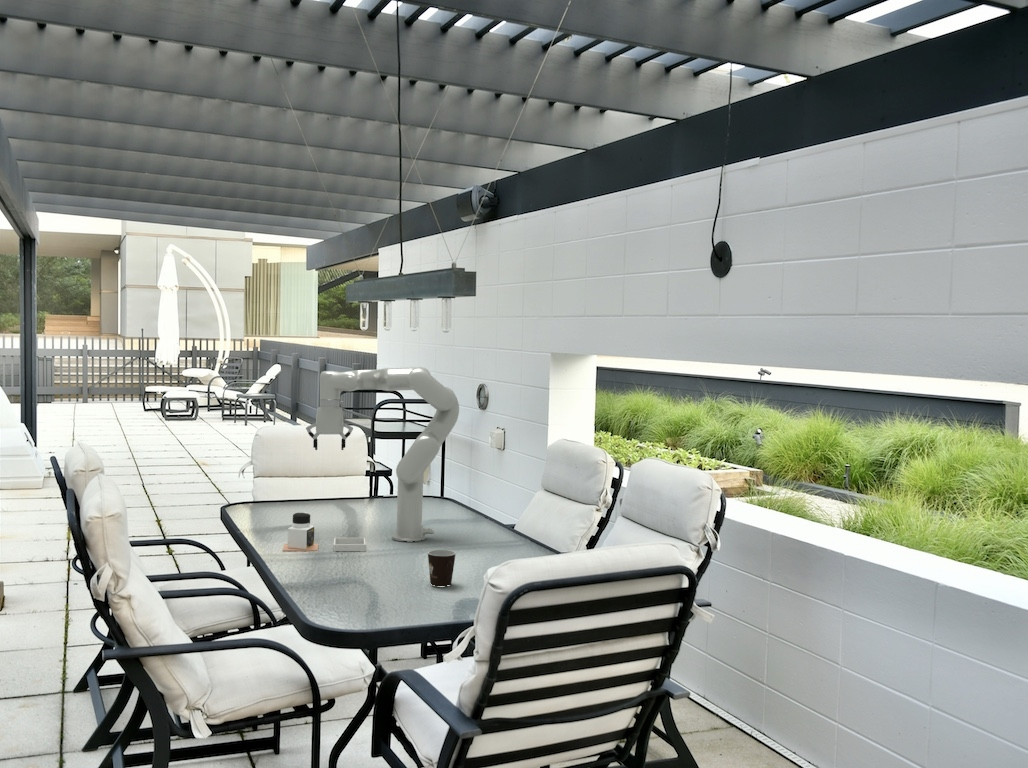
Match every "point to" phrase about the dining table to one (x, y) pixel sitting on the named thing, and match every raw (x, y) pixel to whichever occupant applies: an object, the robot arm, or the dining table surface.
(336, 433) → the robot arm
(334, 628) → the dining table surface
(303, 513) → the medicine bottle
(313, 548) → the coaster
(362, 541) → the parts bin
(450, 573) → the coffee mug
